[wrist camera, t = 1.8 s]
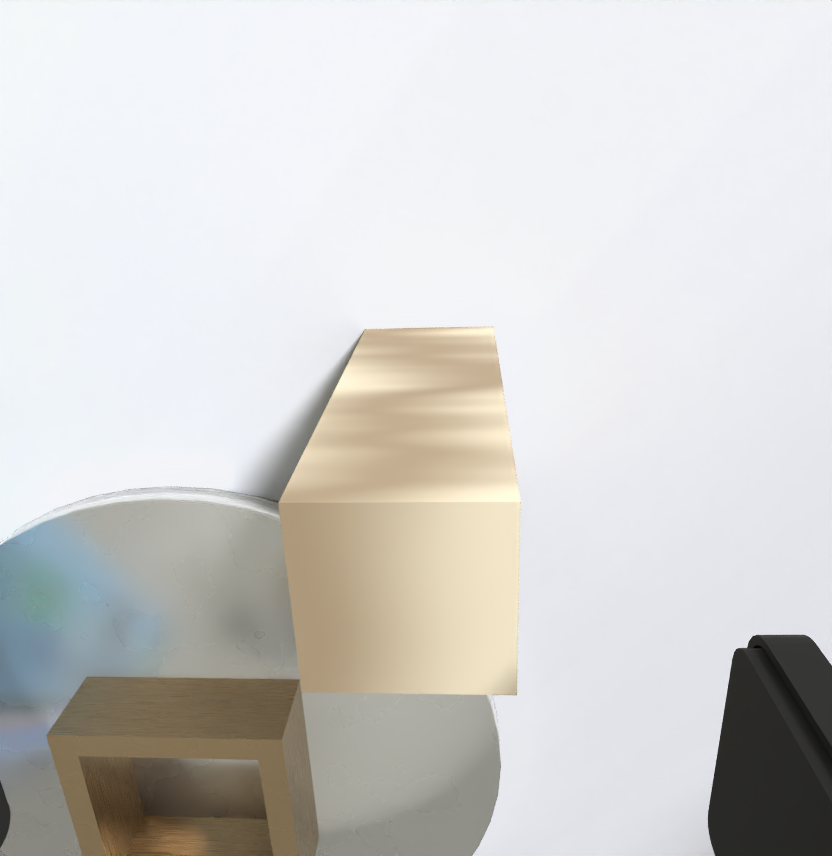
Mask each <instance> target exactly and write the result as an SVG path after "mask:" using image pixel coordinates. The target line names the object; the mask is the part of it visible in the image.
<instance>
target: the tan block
mask: <svg viewBox="0 0 832 856" xmlns="http://www.w3.org/2000/svg"><path fill="white" fill-rule="evenodd" d="M278 505H279V513H280V521H281V529H282V537H283V545H284V554H285V562H286V570H287V578H288V586H289V594H290V602H291V610H292V618H293V626H294V635H295V643H296V651H297V659H298V667H299V675H300V683H301V691H302V692H323V693H393V694H463V695H517V661H518V610H519V559H520V508H521V501H520V494H519V488H518V482H517V475H516V469H515V462H514V456H513V449H512V443H511V436H510V430H509V424H508V417H507V411H506V404H505V398H504V391H503V385H502V378H501V372H500V365H499V359H498V353H497V346H496V340H495V333H494V327H449V328H403V329H365V330H364V332H363V334H362V336H361V338H360V340H359V342H358V344H357V346H356V348H355V350H354V352H353V354H352V356H351V358H350V360H349V362H348V364H347V366H346V368H345V370H344V372H343V374H342V376H341V378H340V380H339V382H338V384H337V386H336V388H335V390H334V392H333V394H332V396H331V398H330V400H329V402H328V404H327V406H326V408H325V410H324V412H323V414H322V416H321V418H320V420H319V422H318V424H317V426H316V428H315V430H314V432H313V434H312V436H311V438H310V440H309V442H308V444H307V446H306V448H305V450H304V452H303V454H302V456H301V458H300V460H299V462H298V464H297V466H296V468H295V470H294V472H293V474H292V476H291V478H290V480H289V482H288V484H287V486H286V488H285V490H284V492H283V494H282V496H281V498H280V500H279V502H278Z"/></svg>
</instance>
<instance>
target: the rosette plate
mask: <svg viewBox="0 0 832 856" xmlns="http://www.w3.org/2000/svg"><path fill="white" fill-rule="evenodd" d="M500 769H501V762H500V745H499V732H498V719H497V711H496V707H495V703H494V699H493V695H463V694H393V693H323V692H302V691H301V683H300V675H299V667H298V659H297V651H296V643H295V635H294V626H293V618H292V610H291V602H290V594H289V586H288V578H287V570H286V562H285V554H284V545H283V537H282V529H281V521H280V513H279V505H278V502H275V501H271V500H268V499H264V498H261V497H257V496H253V495H247V494H241V493H235V492H229V491H224V490H218V489H209V488H190V487H172V486H170V487H155V488H140V489H128V490H123V491H118V492H113V493H108V494H103V495H98V496H93V497H89V498H86V499H83V500H80V501H77V502H74V503H72V504H69V505H66V506H63V507H60V508H57V509H54V510H53V511H51V512H49V513H47V514H45V515H43V516H41V517H39V518H37V519H35V520H33V521H31V522H29V523H27V524H25V525H24V526H22V527H21V528H20V529H18V530H17V531H15V532H14V533H13V534H11V535H10V536H9V537H7V538H6V539H5V540H3V541H2V542H0V781H1V784H2V787H3V790H4V793H5V796H6V799H7V802H8V805H9V807H10V813H11V818H10V826H9V830H8V833H7V836H6V838H5V840H4V842H3V844H2V846H1V848H0V851H1V852H2V853H3V854H4V855H5V856H472V855H473V853H474V852H475V851H476V849H477V848H478V846H479V844H480V842H481V840H482V838H483V836H484V834H485V832H486V830H487V828H488V826H489V824H490V821H491V818H492V814H493V811H494V807H495V804H496V800H497V796H498V789H499V779H500Z"/></svg>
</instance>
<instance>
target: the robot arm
mask: <svg viewBox="0 0 832 856" xmlns="http://www.w3.org/2000/svg"><path fill="white" fill-rule="evenodd" d="M10 818H11V813H10V807H9V805H8V802H7V799H6V796H5V793H4V790H3V787H2V784H1V781H0V848H1V846H2V844H3V842H4V840H5V838H6V836H7V833H8V830H9V826H10ZM708 828H709V835H710V840H711V844H712V847H713V850H714V853H715V856H832V665H831V664H830V663H829V661H828V660H827V659H826V657H825V656H824V654H823V653H822V652H821V650H820V649H819V648H818V646H817V645H816V643H815V642H814V641H813V640H812V639H811V638H810V637H808V636H806V635H756V636H752V638H751V639H750V641H749V643H748V647H747V648H738V649H736V651H735V652H734V655H733V659H732V665H731V672H730V678H729V684H728V691H727V697H726V703H725V710H724V716H723V722H722V729H721V735H720V741H719V748H718V754H717V760H716V767H715V773H714V779H713V786H712V792H711V798H710V805H709V811H708Z"/></svg>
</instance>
